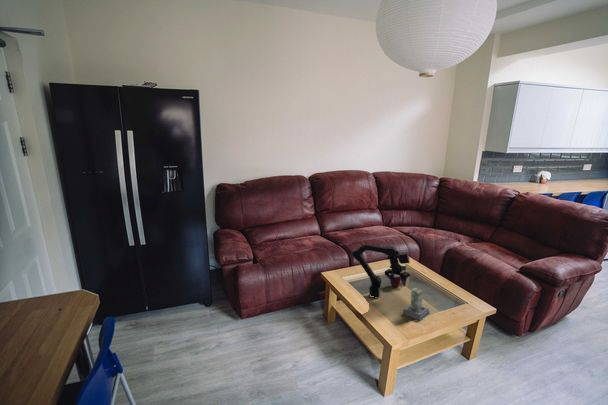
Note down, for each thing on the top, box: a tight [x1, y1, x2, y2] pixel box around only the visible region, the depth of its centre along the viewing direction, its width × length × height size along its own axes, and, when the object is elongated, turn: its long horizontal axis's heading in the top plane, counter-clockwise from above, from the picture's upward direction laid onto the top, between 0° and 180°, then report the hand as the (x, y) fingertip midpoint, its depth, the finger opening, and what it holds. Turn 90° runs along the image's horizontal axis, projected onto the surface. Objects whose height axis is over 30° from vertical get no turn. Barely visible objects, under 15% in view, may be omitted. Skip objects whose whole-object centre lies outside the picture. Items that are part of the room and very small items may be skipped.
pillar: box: [410, 287, 423, 313], centre depth 189 cm, size 5×5×14 cm
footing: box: [402, 303, 431, 322], centre depth 190 cm, size 12×12×4 cm
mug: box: [389, 274, 403, 289], centre depth 228 cm, size 10×8×10 cm
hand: (399, 284), depth 207 cm, fingers open, 9 cm apart
